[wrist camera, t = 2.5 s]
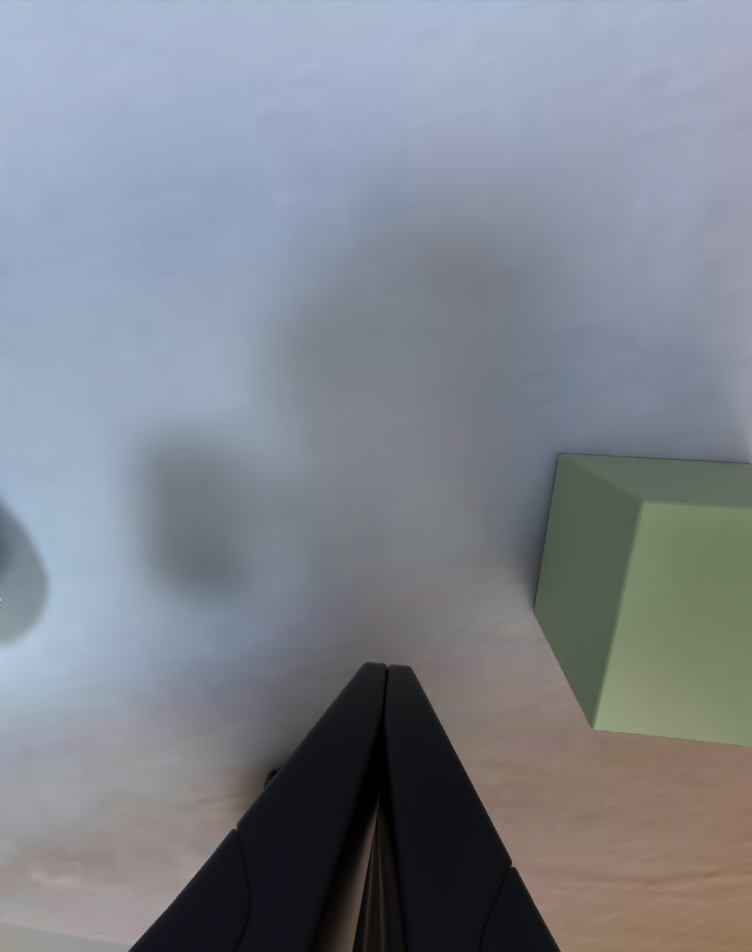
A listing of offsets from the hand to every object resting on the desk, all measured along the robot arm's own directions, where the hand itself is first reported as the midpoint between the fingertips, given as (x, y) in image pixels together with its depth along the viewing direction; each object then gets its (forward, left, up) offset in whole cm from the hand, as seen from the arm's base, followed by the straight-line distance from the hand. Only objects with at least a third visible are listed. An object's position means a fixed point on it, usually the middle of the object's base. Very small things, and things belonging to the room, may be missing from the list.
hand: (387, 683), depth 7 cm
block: (0, -8, -7) cm, 11 cm away
